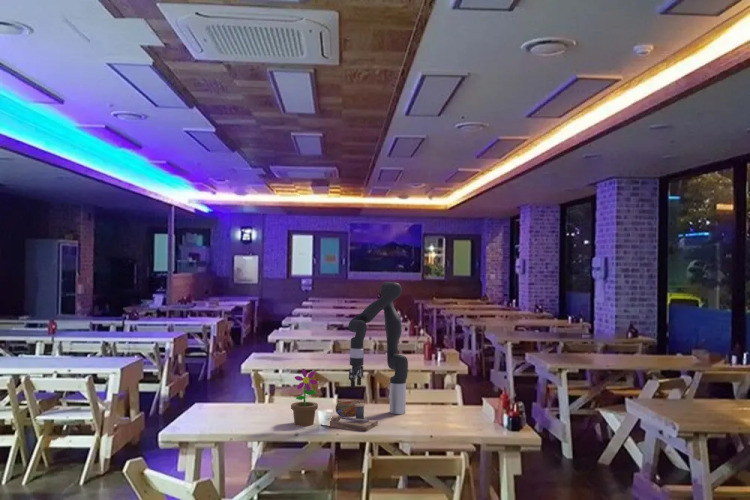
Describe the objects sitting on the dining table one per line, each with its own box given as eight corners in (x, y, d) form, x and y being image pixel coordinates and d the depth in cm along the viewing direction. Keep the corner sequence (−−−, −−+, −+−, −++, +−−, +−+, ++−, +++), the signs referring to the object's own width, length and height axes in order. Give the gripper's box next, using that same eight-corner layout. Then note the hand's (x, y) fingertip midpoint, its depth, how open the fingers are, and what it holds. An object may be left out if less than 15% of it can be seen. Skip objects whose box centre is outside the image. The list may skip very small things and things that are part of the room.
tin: (336, 417, 365) (336, 401, 365) (334, 415, 368) (334, 400, 368) (361, 415, 371) (362, 400, 371) (359, 413, 374) (360, 399, 374)
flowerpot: (292, 427, 340) (293, 369, 341) (288, 421, 354) (289, 365, 354) (320, 426, 344) (320, 368, 344) (315, 419, 358) (316, 364, 358)
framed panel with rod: (334, 419, 358) (334, 415, 358) (377, 425, 347) (377, 420, 347) (321, 425, 346) (321, 420, 346) (366, 431, 335) (366, 426, 335)
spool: (357, 419, 361) (357, 403, 361) (366, 420, 359) (366, 404, 359) (353, 421, 356) (353, 404, 356) (361, 422, 354) (362, 405, 354)
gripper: (357, 358, 349) (357, 389, 349) (368, 355, 363) (367, 385, 362) (345, 357, 352) (344, 387, 352) (355, 354, 365) (354, 383, 365)
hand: (355, 386), depth 357 cm, fingers open, 8 cm apart
